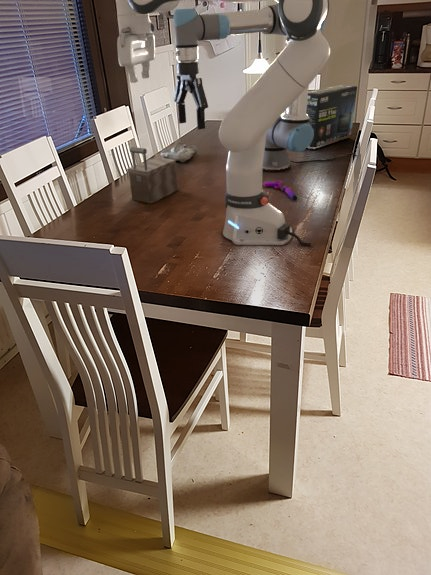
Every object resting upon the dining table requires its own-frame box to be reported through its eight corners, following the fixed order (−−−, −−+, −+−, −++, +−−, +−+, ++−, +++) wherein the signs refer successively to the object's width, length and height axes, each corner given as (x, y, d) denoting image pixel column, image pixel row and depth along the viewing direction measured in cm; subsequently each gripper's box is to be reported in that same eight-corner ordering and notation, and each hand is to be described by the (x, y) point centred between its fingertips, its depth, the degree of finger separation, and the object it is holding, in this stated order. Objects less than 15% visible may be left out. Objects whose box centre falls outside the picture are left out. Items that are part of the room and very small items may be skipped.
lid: (146, 175, 170) (144, 150, 165) (127, 172, 174) (124, 147, 170) (175, 163, 182) (173, 139, 178) (156, 160, 187) (154, 137, 182)
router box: (314, 151, 231) (318, 94, 217) (296, 148, 237) (299, 92, 224) (352, 138, 251) (358, 85, 238) (335, 135, 258) (340, 83, 245)
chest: (151, 203, 176) (147, 175, 170) (132, 199, 181) (128, 171, 175) (178, 190, 188) (175, 163, 183) (159, 186, 193) (156, 160, 187)
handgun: (263, 185, 189) (263, 181, 188) (281, 183, 190) (281, 179, 189) (278, 202, 172) (278, 197, 171) (298, 200, 173) (298, 195, 172)
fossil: (184, 156, 217) (163, 136, 220) (174, 174, 223) (154, 154, 227) (205, 153, 231) (186, 134, 234) (195, 171, 237) (176, 152, 240)
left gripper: (130, 28, 120) (137, 85, 127) (156, 25, 137) (161, 75, 144) (108, 28, 122) (116, 85, 129) (137, 26, 139) (142, 76, 146)
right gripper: (161, 60, 164) (166, 122, 175) (196, 64, 146) (200, 133, 157) (179, 58, 167) (183, 119, 178) (216, 62, 149) (218, 129, 160)
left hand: (140, 80), depth 137 cm, fingers open, 8 cm apart
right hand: (191, 125), depth 168 cm, fingers open, 13 cm apart
